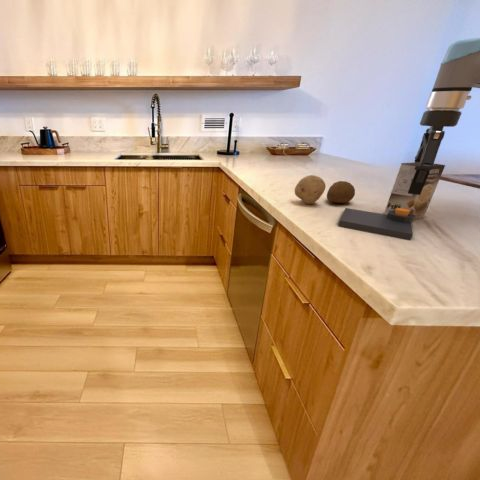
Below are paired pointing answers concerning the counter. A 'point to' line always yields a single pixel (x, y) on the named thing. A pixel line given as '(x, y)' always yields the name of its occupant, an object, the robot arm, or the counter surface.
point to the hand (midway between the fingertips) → (412, 189)
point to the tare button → (402, 211)
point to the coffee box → (413, 201)
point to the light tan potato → (310, 189)
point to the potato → (341, 192)
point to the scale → (378, 223)
